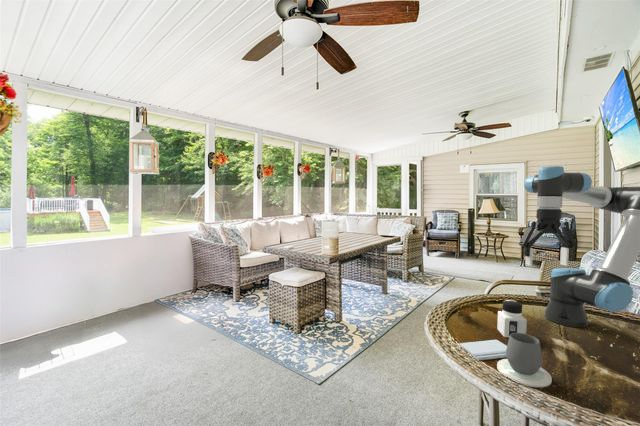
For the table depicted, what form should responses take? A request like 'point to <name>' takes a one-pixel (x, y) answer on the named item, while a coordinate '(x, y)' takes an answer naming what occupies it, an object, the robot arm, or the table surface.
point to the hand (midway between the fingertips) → (546, 265)
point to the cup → (524, 353)
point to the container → (511, 319)
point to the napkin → (485, 349)
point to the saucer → (525, 375)
